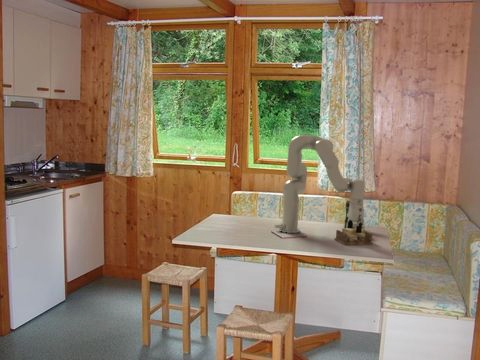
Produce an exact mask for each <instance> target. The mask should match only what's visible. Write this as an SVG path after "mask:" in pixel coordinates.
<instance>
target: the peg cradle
mask: <svg viewBox="0 0 480 360" xmlns="http://www.w3.org/2000/svg"><path fill="white" fill-rule="evenodd" d="M335 234H336V235H335V238H334V241H335V242H337V243H340V244H341V245H344V246H357V245H359V246H360V245H361V246H362V245H374V244H373V241H372V239H373V233H372V232H370V231H367V230H365V237H357V238H350V237H347V234H346V233H343V232H342V230H339V229H337V230H336V233H335Z"/></svg>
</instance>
